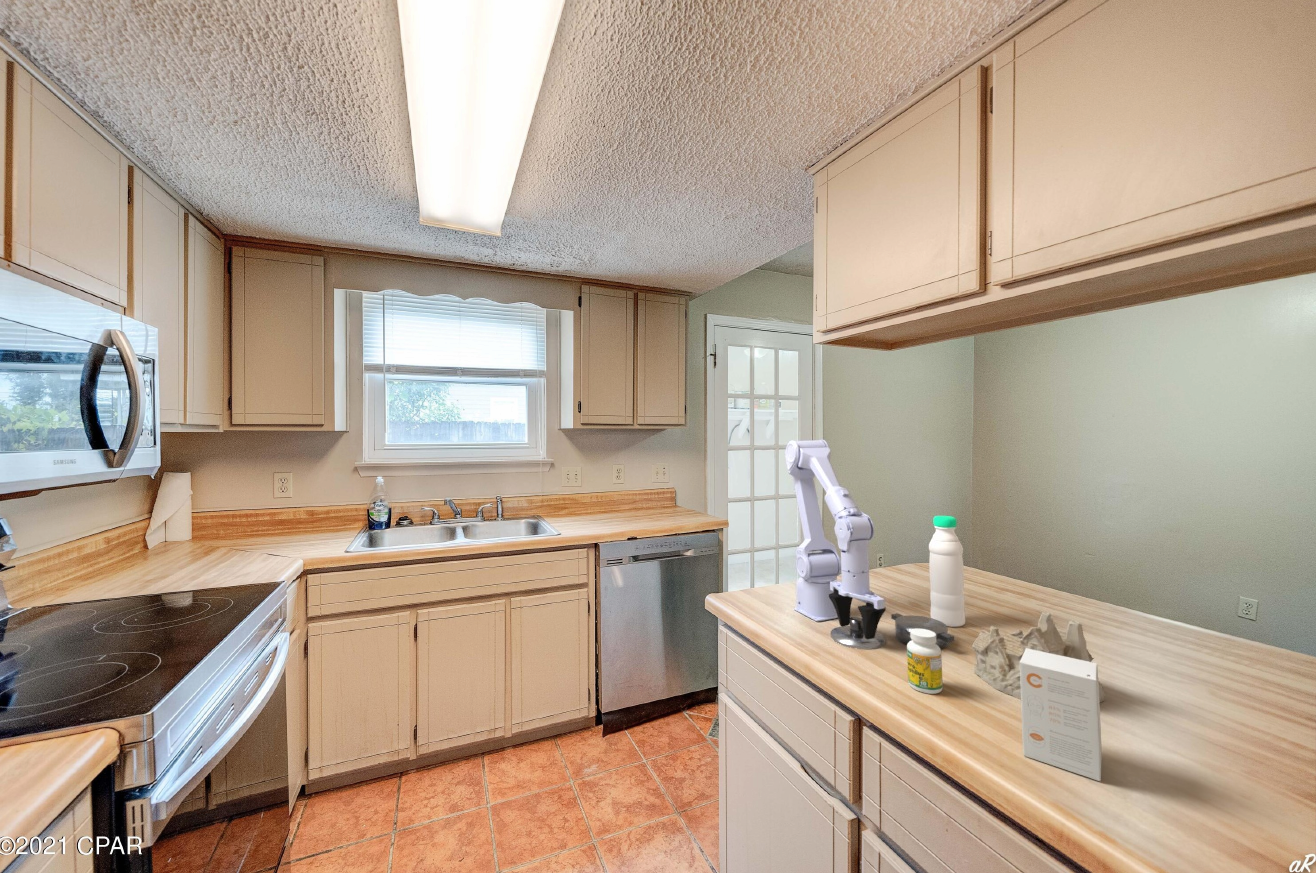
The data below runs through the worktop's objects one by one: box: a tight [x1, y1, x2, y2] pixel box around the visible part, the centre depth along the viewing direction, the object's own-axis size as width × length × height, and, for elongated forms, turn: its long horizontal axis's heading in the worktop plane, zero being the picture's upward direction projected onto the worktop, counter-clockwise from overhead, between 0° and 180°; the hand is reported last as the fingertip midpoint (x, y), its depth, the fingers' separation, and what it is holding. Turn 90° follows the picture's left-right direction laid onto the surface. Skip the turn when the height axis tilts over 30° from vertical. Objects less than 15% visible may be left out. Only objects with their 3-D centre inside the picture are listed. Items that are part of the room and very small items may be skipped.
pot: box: [890, 612, 955, 650], centre depth 105 cm, size 14×10×4 cm
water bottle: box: [928, 515, 966, 628], centre depth 115 cm, size 7×7×25 cm
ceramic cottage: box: [971, 611, 1106, 703], centre depth 86 cm, size 16×16×15 cm
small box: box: [1019, 648, 1103, 782], centre depth 67 cm, size 8×6×13 cm
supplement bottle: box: [906, 629, 944, 695], centre depth 86 cm, size 5×5×10 cm
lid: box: [829, 616, 885, 650], centre depth 107 cm, size 11×11×5 cm
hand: (856, 631), depth 107 cm, fingers open, 7 cm apart
